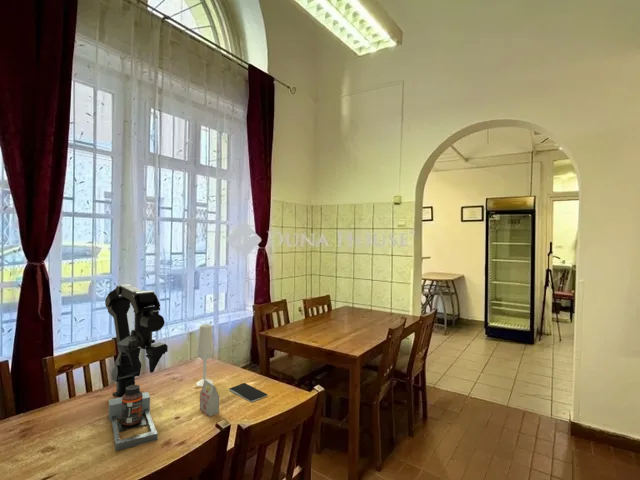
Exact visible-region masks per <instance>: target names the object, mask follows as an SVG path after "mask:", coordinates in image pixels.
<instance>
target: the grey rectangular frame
mask: <svg viewBox="0 0 640 480" xmlns="http://www.w3.org/2000/svg"><path fill="white" fill-rule="evenodd" d="M150 412H151V411H150ZM150 412H149V409H148V408H147V409H144V413H142V420H141V421H140V422H139V423H137V424H135V425H131V426H126V425H123V424H122V423H121V418H120V419H116V416H112V420H111V427H112V434H113V442H114V447H115V452H118V451H123V450H126V449H131V448H134V447H137V446H140V445H144V444H149V443H151V442H155V441H158V434H159V433H158V431H157V429H156V427H155V425H154V421H153V418H152V416H151V413H150ZM145 426H146V427H148V429H149V432H144V433H141V434H137V435H133V436H129V437H126V438H122V439H121V437H120V433H121V432H122V433H123V432H125V431H130V430H133V429H137V428H141V427H145Z"/></svg>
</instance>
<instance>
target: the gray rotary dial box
mask: <svg viewBox="0 0 640 480" xmlns="http://www.w3.org/2000/svg"><path fill="white" fill-rule="evenodd" d="M142 395H143V399H142V400H143V401H142V414H144V409H147V408H148V409H149V412H151V411H150V410H151V409H150V408H151V396H150V394H149V392H148V391H146V392H142ZM112 416H116V419H117V420H120V419H121V416H122V397H115V398H111V399H110V398H109V399H108V420H109V422H112Z"/></svg>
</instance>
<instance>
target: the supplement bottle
mask: <svg viewBox="0 0 640 480" xmlns="http://www.w3.org/2000/svg"><path fill="white" fill-rule="evenodd" d="M142 393H143V392H142V391H140V385H139V384H135V385H130V386H128V387H126V393H125V394H124V395H123V397H122V416H121V418H120V419H121V423H122V424H123V425H126V426H131V425H135V424H137V423H139V422H140V421H141V420H142V414H143V413H142V401H143V400H142V399H143V395H142Z"/></svg>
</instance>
